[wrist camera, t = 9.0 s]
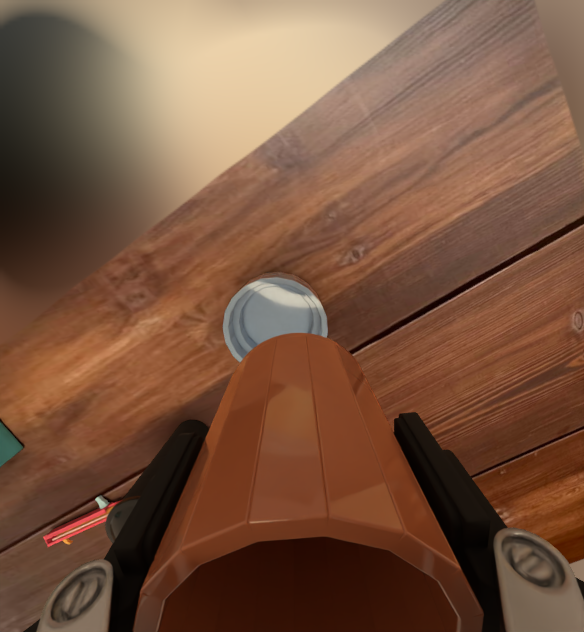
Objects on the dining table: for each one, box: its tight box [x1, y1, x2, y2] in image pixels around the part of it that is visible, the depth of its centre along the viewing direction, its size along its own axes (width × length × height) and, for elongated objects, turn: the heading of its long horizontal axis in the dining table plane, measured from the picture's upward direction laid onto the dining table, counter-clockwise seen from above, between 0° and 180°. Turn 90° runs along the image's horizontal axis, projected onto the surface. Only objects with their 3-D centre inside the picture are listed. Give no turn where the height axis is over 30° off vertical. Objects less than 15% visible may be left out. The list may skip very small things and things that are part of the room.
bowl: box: [223, 272, 328, 362], centre depth 33 cm, size 11×11×5 cm
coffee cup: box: [132, 333, 484, 632], centre depth 10 cm, size 7×7×9 cm
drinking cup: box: [105, 420, 209, 543], centre depth 30 cm, size 8×8×20 cm
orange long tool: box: [44, 495, 122, 547], centre depth 43 cm, size 24×2×5 cm
